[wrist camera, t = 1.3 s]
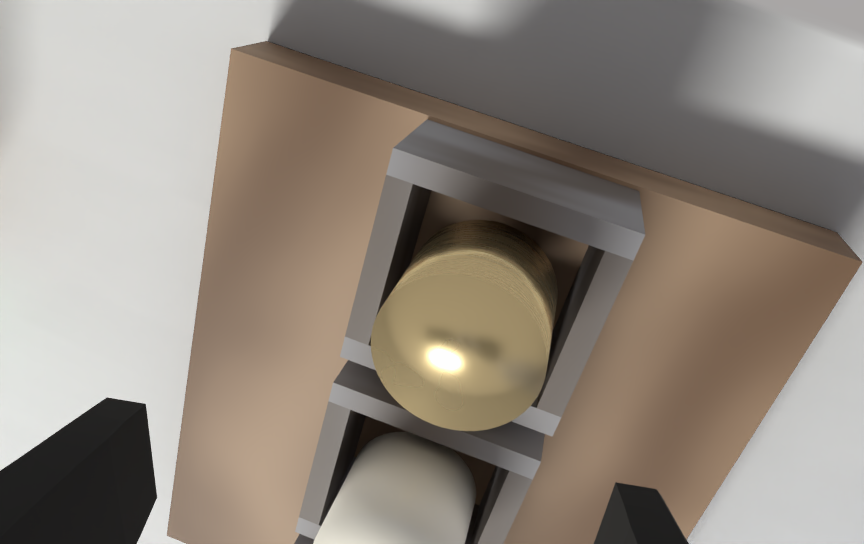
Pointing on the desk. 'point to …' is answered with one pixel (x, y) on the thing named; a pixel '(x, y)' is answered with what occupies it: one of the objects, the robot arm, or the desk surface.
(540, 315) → the knob
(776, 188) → the desk surface
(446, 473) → the knob middle
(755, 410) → the knob panel
